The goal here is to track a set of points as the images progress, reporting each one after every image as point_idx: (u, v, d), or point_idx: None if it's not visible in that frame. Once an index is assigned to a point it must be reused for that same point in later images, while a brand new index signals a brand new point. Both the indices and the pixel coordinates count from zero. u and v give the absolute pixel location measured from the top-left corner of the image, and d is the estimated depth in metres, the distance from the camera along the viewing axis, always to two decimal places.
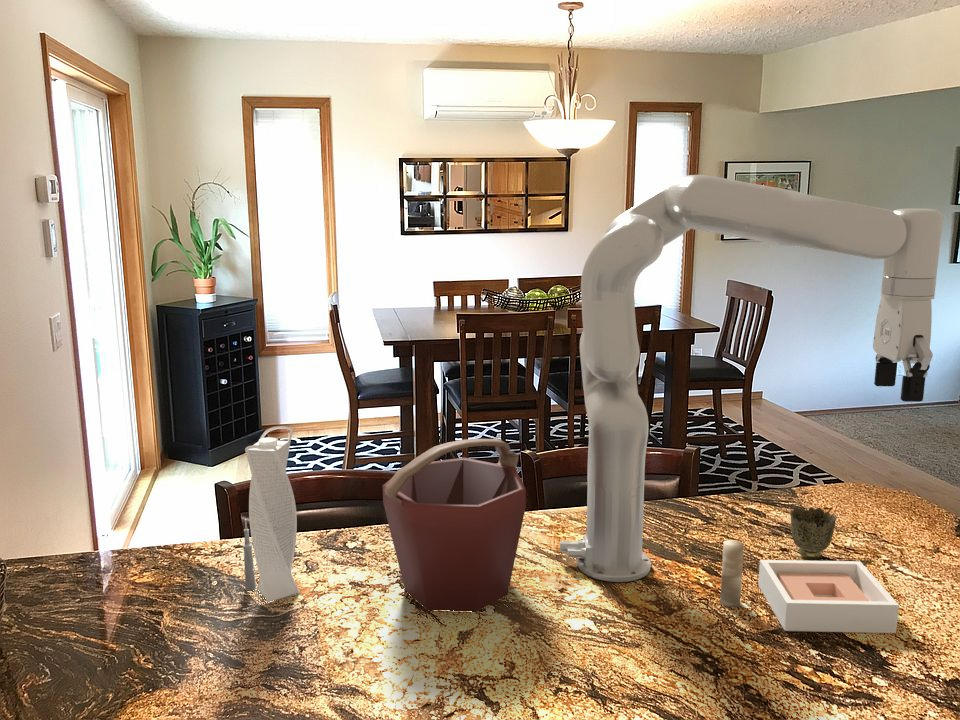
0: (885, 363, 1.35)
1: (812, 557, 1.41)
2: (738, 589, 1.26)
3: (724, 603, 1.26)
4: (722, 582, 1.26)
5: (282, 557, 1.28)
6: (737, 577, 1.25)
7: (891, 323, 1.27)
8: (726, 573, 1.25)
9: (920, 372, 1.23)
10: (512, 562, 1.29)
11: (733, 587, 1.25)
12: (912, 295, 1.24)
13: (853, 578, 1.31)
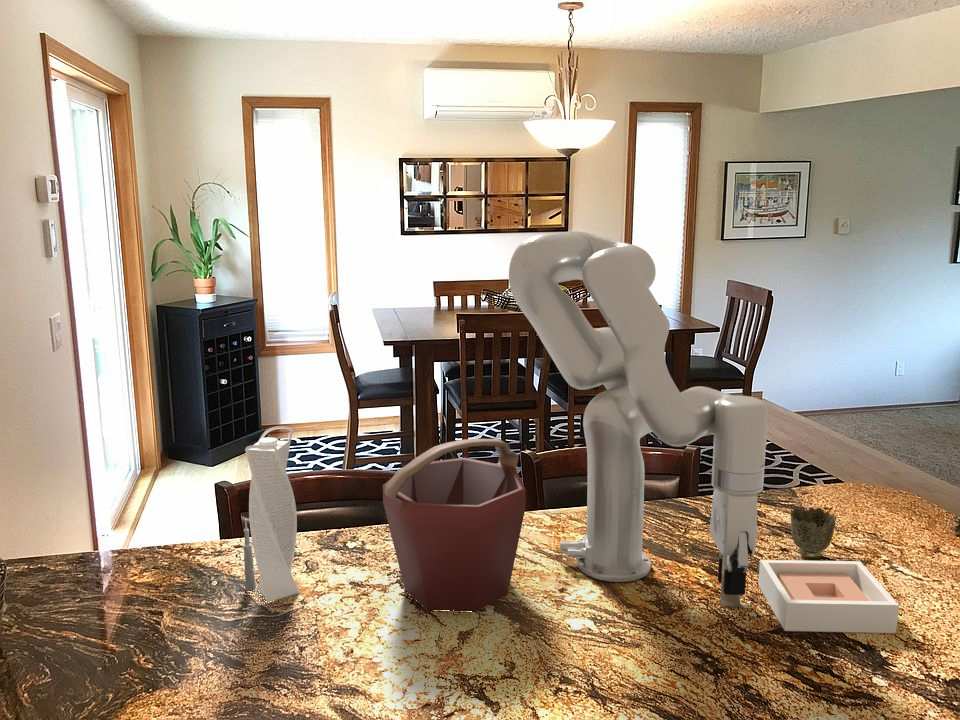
0: None
1: (812, 557, 1.41)
2: None
3: (724, 603, 1.26)
4: (722, 582, 1.26)
5: (282, 557, 1.28)
6: None
7: (719, 514, 1.23)
8: None
9: (738, 569, 1.22)
10: (512, 562, 1.29)
11: None
12: (737, 490, 1.20)
13: (853, 578, 1.31)
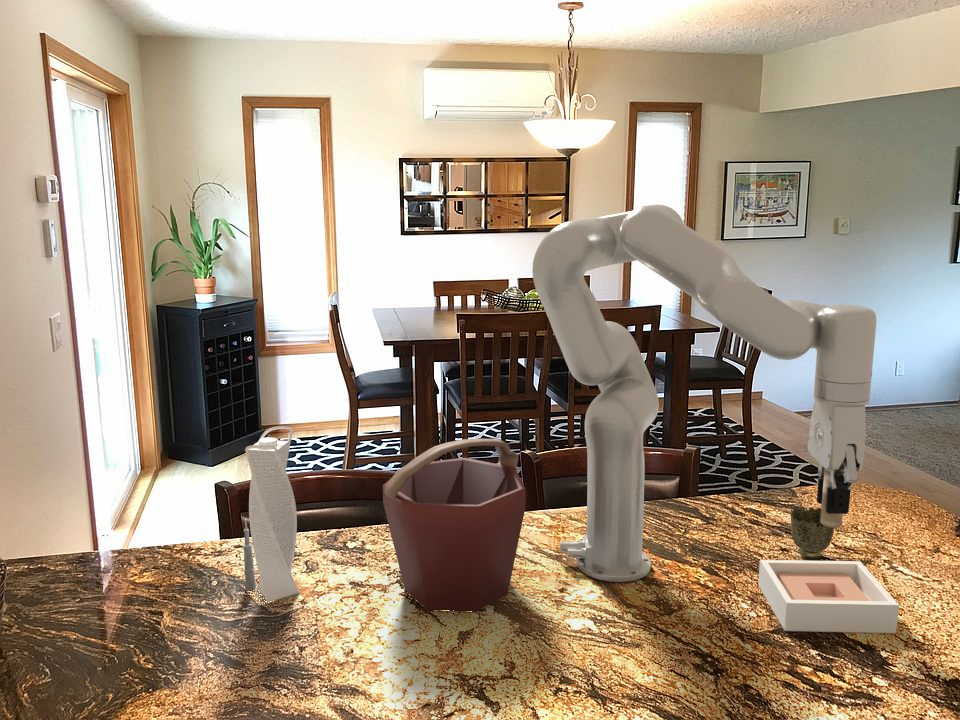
0: None
1: (812, 557, 1.41)
2: None
3: (825, 523, 1.22)
4: (823, 501, 1.22)
5: (282, 557, 1.28)
6: None
7: (823, 428, 1.18)
8: None
9: (844, 485, 1.17)
10: (512, 562, 1.29)
11: None
12: (844, 401, 1.15)
13: (853, 578, 1.31)
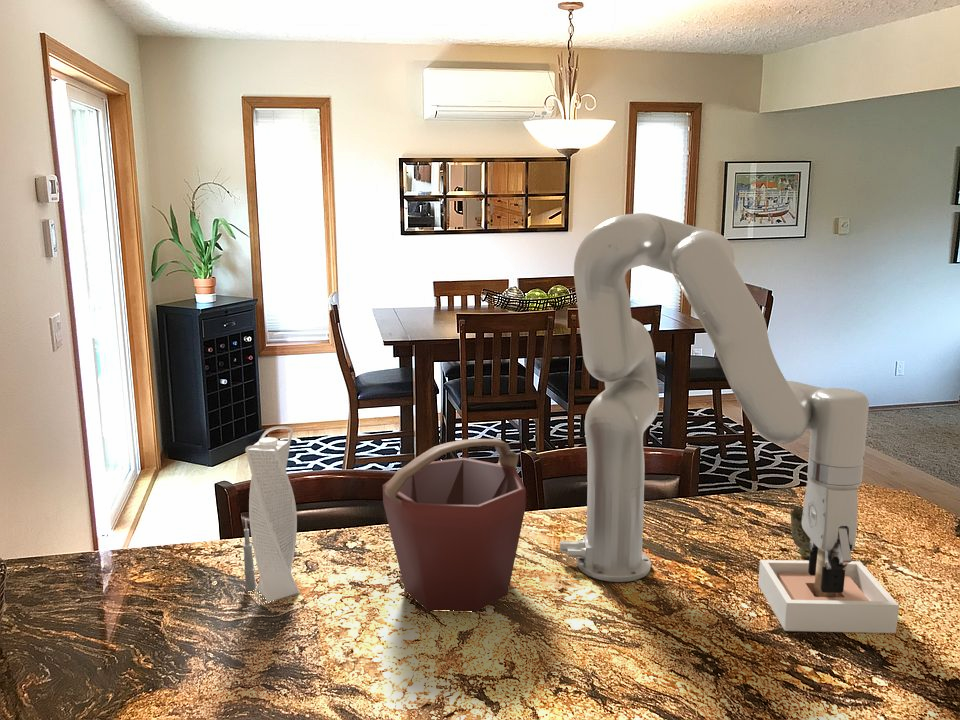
0: None
1: None
2: None
3: None
4: (816, 581, 1.24)
5: (282, 557, 1.28)
6: None
7: (816, 509, 1.21)
8: (821, 572, 1.23)
9: (839, 566, 1.19)
10: (512, 562, 1.29)
11: None
12: (837, 484, 1.18)
13: (853, 578, 1.31)
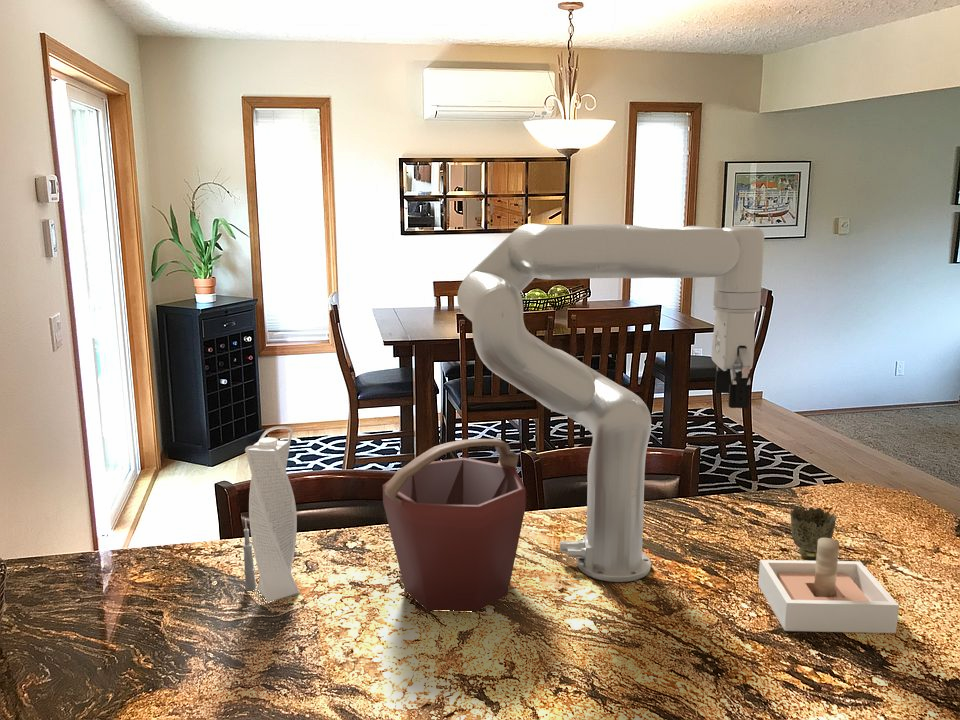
0: (724, 371, 1.43)
1: (812, 557, 1.41)
2: (833, 588, 1.24)
3: None
4: (816, 580, 1.25)
5: (282, 557, 1.28)
6: (833, 576, 1.23)
7: (720, 334, 1.35)
8: (820, 572, 1.23)
9: (742, 380, 1.31)
10: (512, 562, 1.29)
11: (828, 586, 1.23)
12: (736, 308, 1.32)
13: (853, 578, 1.31)
